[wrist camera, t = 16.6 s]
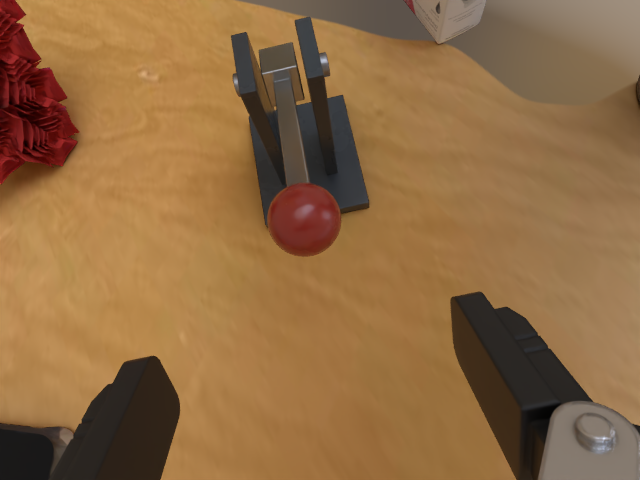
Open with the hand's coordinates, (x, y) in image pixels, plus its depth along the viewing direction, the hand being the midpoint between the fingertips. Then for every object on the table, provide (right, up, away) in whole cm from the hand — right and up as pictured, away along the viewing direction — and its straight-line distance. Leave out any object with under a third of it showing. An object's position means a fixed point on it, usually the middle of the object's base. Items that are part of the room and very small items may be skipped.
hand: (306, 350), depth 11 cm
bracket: (-1, +10, +26) cm, 28 cm away
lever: (-1, +8, +13) cm, 15 cm away
